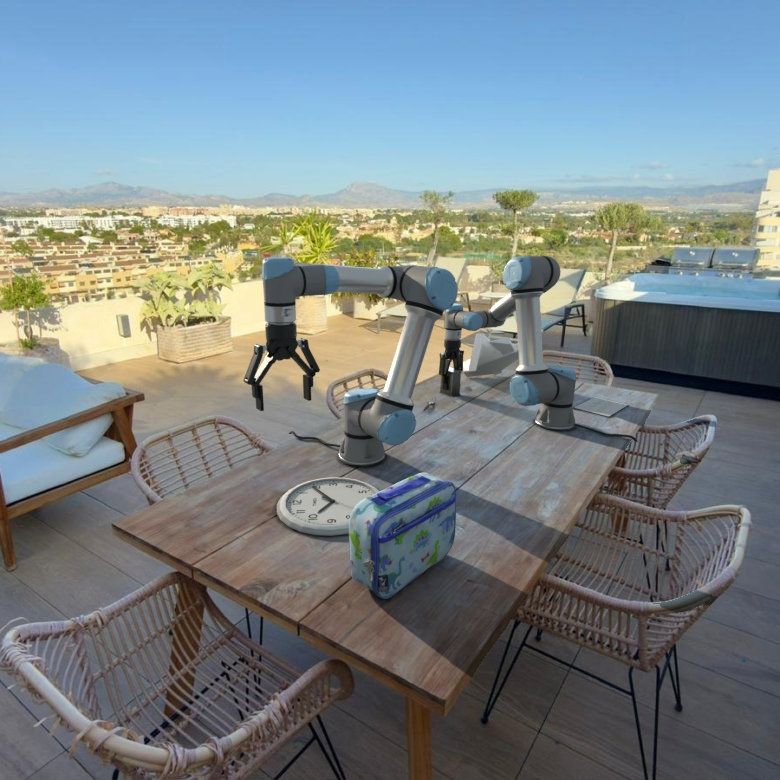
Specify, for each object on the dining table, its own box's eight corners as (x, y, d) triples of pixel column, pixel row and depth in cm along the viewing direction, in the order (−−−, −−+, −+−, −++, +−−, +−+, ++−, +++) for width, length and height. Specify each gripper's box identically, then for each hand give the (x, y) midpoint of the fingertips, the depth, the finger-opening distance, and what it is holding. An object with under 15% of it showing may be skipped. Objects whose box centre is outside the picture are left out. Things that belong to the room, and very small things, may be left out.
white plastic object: (482, 418, 266) (461, 395, 241) (463, 346, 288) (443, 318, 264) (553, 394, 254) (538, 368, 229) (528, 321, 276) (512, 289, 251)
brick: (440, 392, 242) (441, 368, 239) (447, 390, 245) (449, 366, 242) (451, 396, 237) (453, 372, 233) (459, 394, 240) (461, 370, 236)
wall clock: (392, 527, 129) (268, 531, 127) (391, 533, 130) (269, 537, 127) (383, 473, 158) (282, 475, 155) (383, 478, 158) (282, 480, 156)
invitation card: (608, 416, 214) (573, 407, 224) (608, 416, 214) (573, 408, 224) (628, 404, 229) (594, 396, 238) (628, 405, 229) (594, 397, 238)
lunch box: (377, 612, 103) (378, 518, 97) (342, 586, 111) (341, 497, 104) (459, 557, 121) (465, 475, 115) (425, 538, 128) (428, 460, 122)
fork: (420, 411, 216) (420, 406, 216) (430, 400, 230) (431, 395, 230) (426, 412, 215) (426, 407, 215) (436, 401, 230) (436, 396, 229)
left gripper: (238, 330, 118) (245, 418, 124) (331, 319, 133) (333, 398, 139) (225, 325, 123) (232, 410, 129) (316, 315, 138) (318, 392, 145)
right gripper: (443, 342, 225) (441, 394, 232) (473, 337, 236) (470, 386, 243) (431, 339, 230) (429, 389, 237) (461, 334, 242) (458, 382, 249)
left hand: (284, 404), depth 134 cm, fingers open, 13 cm apart
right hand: (450, 388), depth 240 cm, fingers open, 6 cm apart
